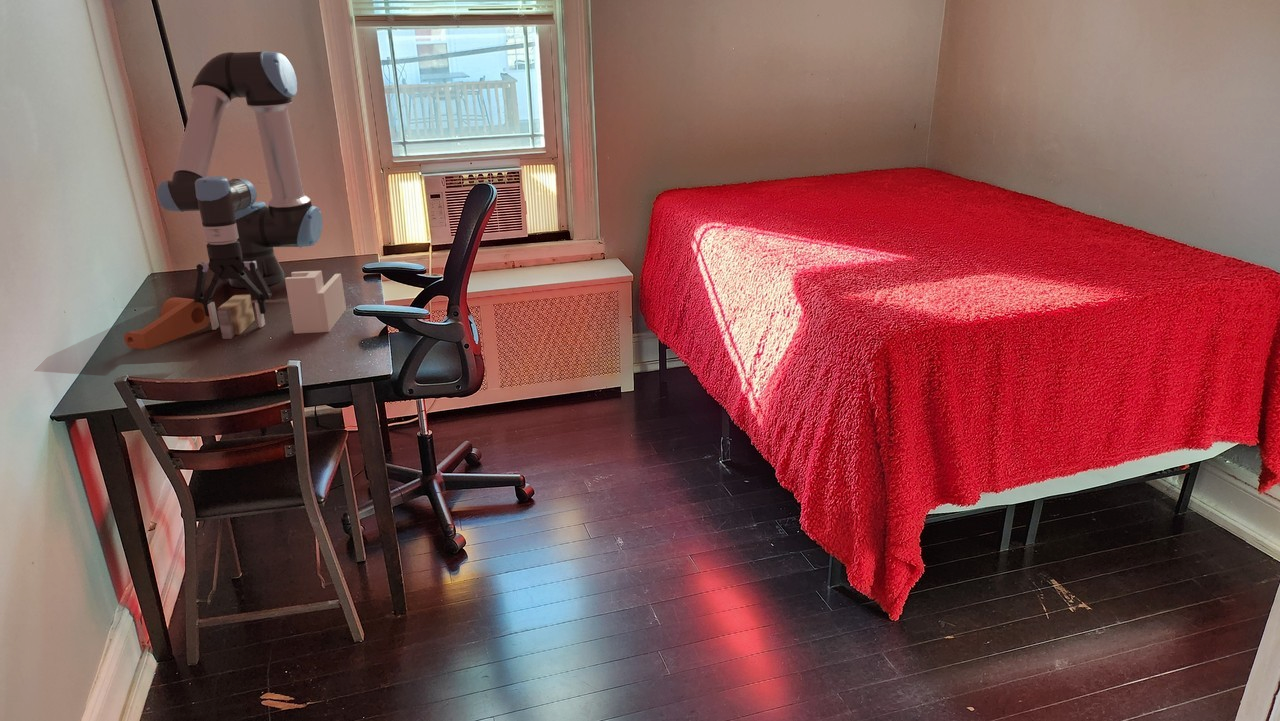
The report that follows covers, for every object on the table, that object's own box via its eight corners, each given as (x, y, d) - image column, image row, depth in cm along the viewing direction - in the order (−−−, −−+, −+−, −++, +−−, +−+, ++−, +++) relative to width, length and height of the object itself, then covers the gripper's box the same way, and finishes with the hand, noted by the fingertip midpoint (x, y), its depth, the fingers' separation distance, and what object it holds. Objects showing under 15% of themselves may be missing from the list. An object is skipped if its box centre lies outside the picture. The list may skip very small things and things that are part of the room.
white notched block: (294, 333, 208) (284, 278, 203) (313, 311, 226) (305, 260, 221) (329, 331, 209) (320, 277, 204) (346, 309, 227) (338, 258, 222)
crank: (190, 323, 219) (184, 293, 216) (213, 325, 216) (207, 296, 213) (122, 347, 201) (114, 315, 198) (146, 350, 198) (139, 318, 196)
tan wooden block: (239, 321, 219) (234, 295, 216) (255, 320, 219) (250, 294, 217) (218, 339, 205) (212, 311, 202) (235, 338, 205) (230, 311, 203)
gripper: (166, 246, 201) (185, 333, 208) (266, 242, 203) (281, 329, 211) (179, 240, 208) (197, 324, 215) (276, 236, 210) (290, 320, 218)
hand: (239, 327), depth 213 cm, fingers open, 11 cm apart
